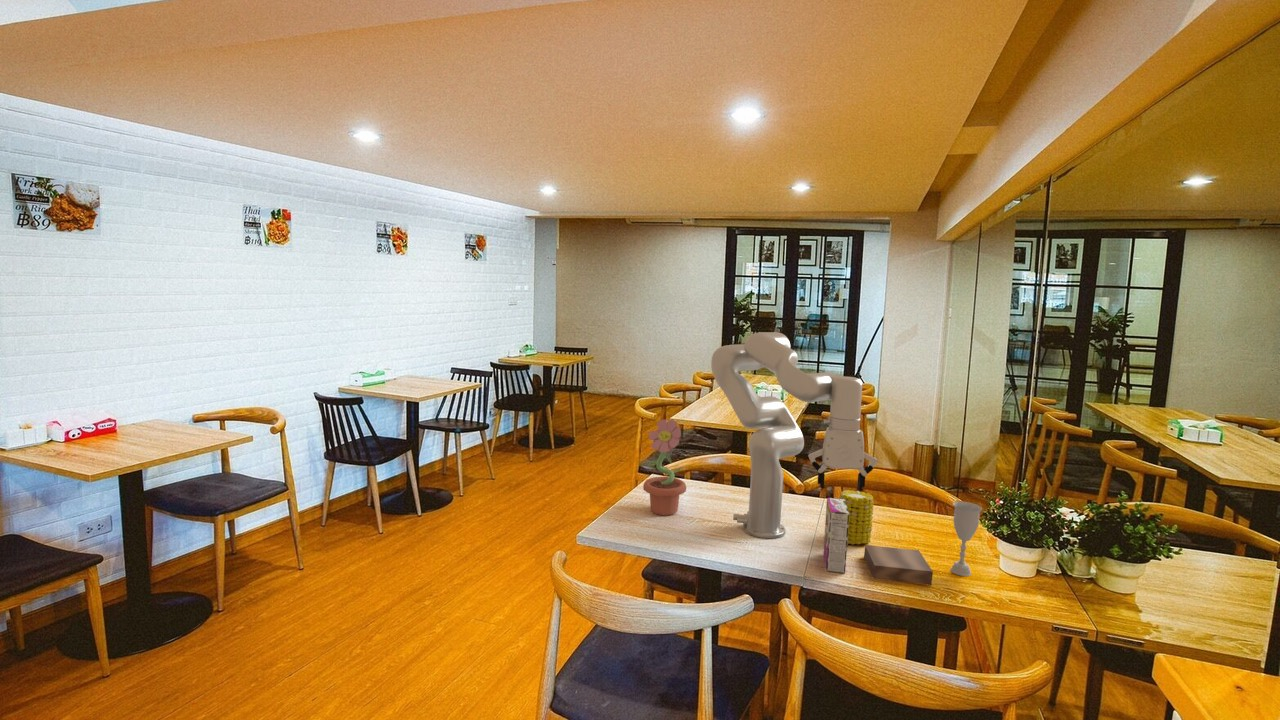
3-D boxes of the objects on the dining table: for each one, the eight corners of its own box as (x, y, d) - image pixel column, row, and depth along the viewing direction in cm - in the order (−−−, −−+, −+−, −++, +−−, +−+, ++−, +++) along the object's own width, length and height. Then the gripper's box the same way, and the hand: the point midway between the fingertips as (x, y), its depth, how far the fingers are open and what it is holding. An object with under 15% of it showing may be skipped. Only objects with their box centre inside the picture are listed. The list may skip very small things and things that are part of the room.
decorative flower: (631, 511, 200) (634, 420, 196) (654, 500, 211) (658, 413, 208) (670, 523, 192) (674, 427, 188) (693, 510, 203) (697, 420, 199)
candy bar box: (822, 554, 173) (826, 496, 171) (840, 556, 172) (845, 498, 170) (825, 571, 162) (830, 511, 160) (845, 574, 161) (850, 513, 159)
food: (836, 549, 181) (840, 538, 190) (879, 547, 176) (881, 536, 185) (828, 496, 181) (832, 488, 190) (871, 494, 176) (872, 485, 185)
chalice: (974, 580, 160) (981, 513, 158) (945, 573, 164) (951, 507, 162) (976, 570, 166) (983, 505, 164) (948, 563, 170) (954, 499, 168)
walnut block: (873, 580, 159) (874, 565, 159) (863, 558, 172) (865, 544, 172) (931, 586, 157) (932, 571, 156) (917, 564, 170) (918, 550, 169)
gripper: (811, 425, 160) (808, 489, 162) (882, 429, 157) (877, 495, 159) (809, 419, 168) (805, 481, 169) (876, 423, 165) (872, 486, 166)
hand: (840, 488), depth 164 cm, fingers open, 9 cm apart
